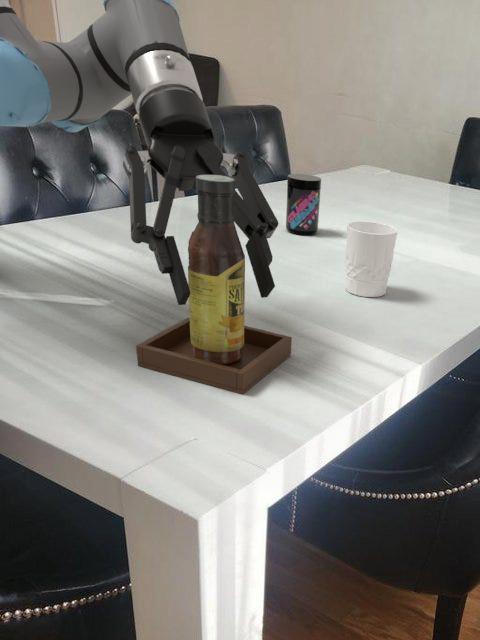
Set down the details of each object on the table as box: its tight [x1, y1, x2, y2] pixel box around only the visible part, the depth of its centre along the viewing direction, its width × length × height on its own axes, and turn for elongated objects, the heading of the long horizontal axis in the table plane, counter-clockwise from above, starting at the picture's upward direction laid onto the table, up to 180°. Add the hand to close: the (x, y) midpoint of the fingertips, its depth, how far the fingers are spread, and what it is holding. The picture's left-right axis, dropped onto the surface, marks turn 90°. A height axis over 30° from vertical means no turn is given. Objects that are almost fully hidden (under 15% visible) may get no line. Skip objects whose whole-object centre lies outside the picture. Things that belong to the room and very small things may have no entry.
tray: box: [135, 316, 293, 395], centre depth 77 cm, size 14×13×2 cm
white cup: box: [344, 220, 398, 298], centre depth 104 cm, size 8×8×10 cm
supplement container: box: [285, 173, 322, 236], centre depth 131 cm, size 7×7×10 cm
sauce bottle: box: [187, 175, 246, 365], centre depth 72 cm, size 7×6×20 cm
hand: (227, 295), depth 71 cm, fingers open, 9 cm apart
